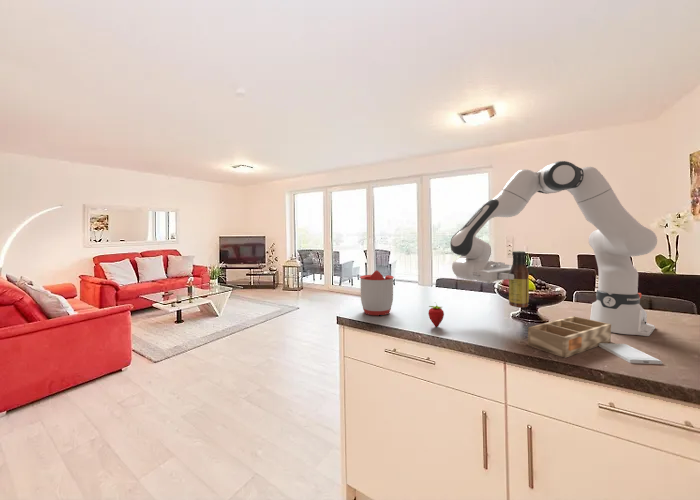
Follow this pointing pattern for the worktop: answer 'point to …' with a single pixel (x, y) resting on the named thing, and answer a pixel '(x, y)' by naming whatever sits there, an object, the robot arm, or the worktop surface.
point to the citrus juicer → (376, 293)
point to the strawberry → (436, 315)
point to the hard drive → (629, 353)
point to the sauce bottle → (519, 281)
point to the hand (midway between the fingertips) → (521, 275)
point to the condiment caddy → (569, 335)
